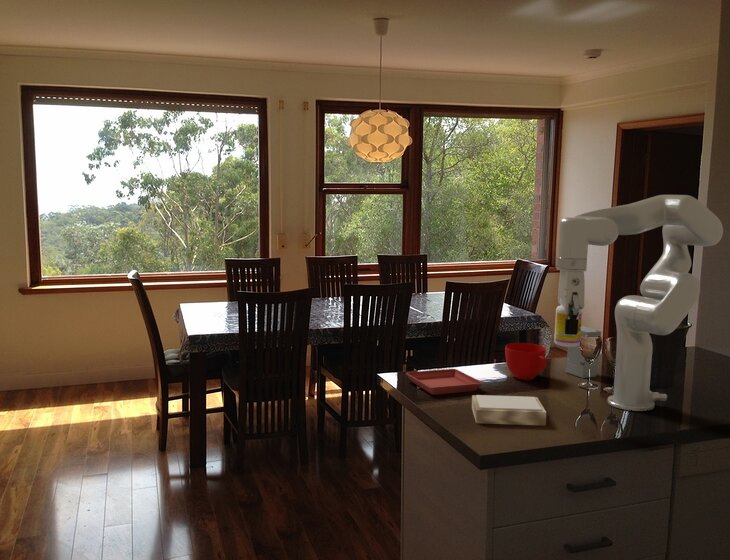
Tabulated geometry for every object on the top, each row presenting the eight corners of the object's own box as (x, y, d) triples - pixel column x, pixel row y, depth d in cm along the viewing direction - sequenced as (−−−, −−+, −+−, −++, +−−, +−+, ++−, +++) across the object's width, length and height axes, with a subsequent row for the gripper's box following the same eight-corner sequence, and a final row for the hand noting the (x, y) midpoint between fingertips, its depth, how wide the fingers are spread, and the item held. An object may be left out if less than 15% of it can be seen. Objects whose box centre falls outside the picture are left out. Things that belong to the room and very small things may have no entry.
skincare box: (564, 372, 231) (567, 326, 229) (580, 370, 235) (582, 325, 233) (583, 379, 224) (586, 331, 222) (599, 376, 227) (602, 329, 225)
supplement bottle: (581, 348, 179) (584, 299, 178) (554, 346, 180) (557, 298, 179) (578, 342, 186) (581, 295, 184) (552, 341, 187) (555, 294, 185)
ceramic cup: (527, 387, 213) (529, 356, 212) (496, 373, 229) (497, 344, 227) (560, 383, 219) (562, 352, 217) (528, 370, 234) (529, 341, 233)
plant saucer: (454, 377, 225) (455, 367, 225) (483, 392, 209) (484, 382, 208) (404, 382, 219) (404, 372, 218) (430, 398, 202) (430, 387, 202)
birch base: (536, 409, 192) (537, 395, 191) (545, 425, 179) (546, 410, 178) (471, 407, 193) (472, 393, 192) (476, 423, 180) (476, 408, 179)
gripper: (595, 268, 172) (590, 338, 174) (577, 261, 189) (573, 325, 191) (565, 267, 172) (560, 337, 174) (550, 261, 189) (546, 324, 191)
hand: (567, 330), depth 183 cm, fingers closed on supplement bottle, 6 cm apart
